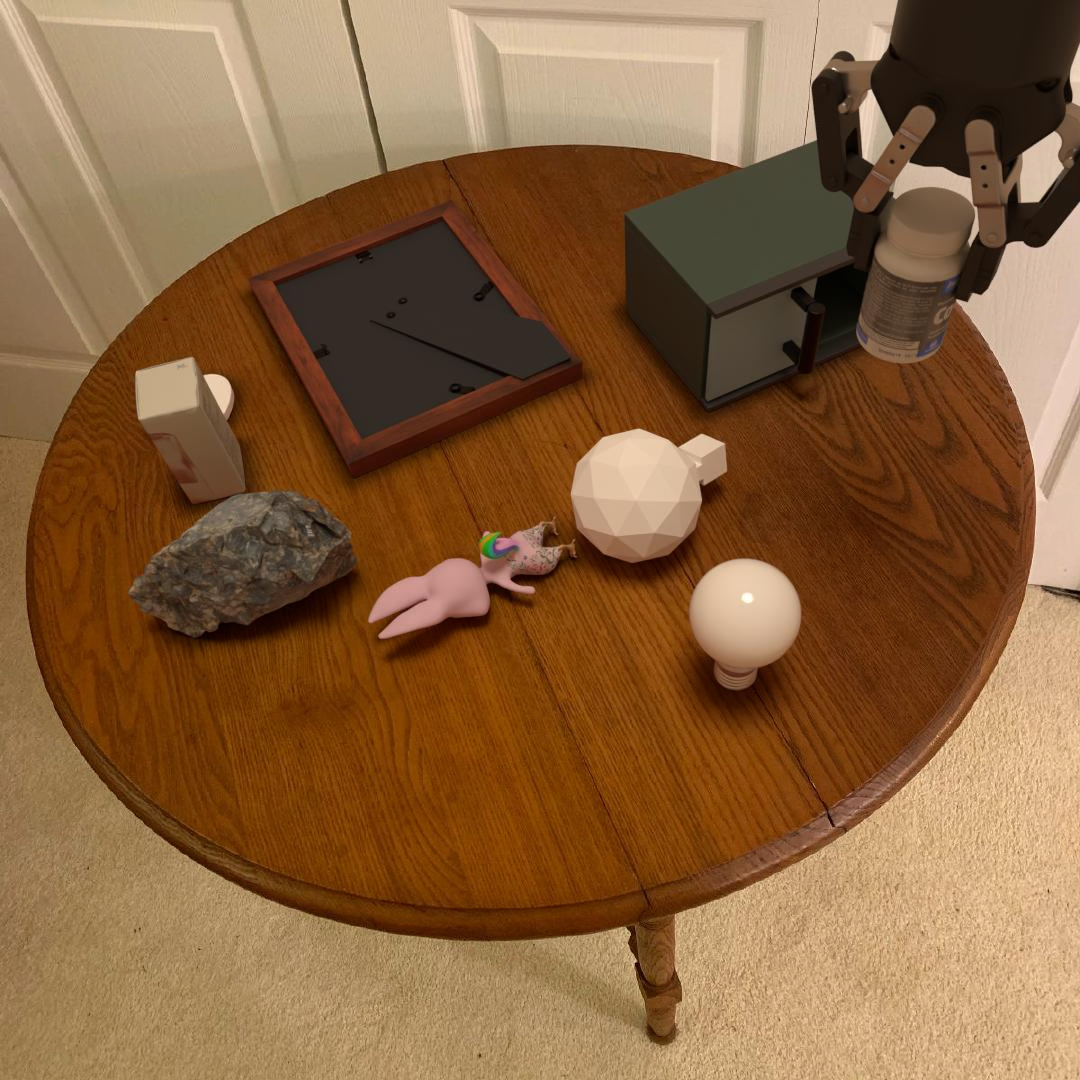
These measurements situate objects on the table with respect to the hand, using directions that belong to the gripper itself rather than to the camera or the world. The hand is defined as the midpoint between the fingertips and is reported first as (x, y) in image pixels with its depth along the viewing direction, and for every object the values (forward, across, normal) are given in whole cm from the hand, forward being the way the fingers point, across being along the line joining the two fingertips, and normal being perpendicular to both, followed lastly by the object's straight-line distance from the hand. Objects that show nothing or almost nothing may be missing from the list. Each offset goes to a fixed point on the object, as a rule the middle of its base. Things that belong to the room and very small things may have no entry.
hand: (916, 274), depth 53 cm
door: (+21, -10, +8) cm, 24 cm away
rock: (+22, -33, -26) cm, 47 cm away
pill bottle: (+5, 0, 0) cm, 5 cm away
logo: (+22, -50, -14) cm, 57 cm away
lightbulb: (+22, -2, -15) cm, 27 cm away
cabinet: (+22, -14, +16) cm, 31 cm away
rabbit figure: (+22, -20, -18) cm, 34 cm away
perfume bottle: (+22, -12, -7) cm, 26 cm away
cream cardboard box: (+22, -44, -19) cm, 52 cm away
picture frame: (+22, -40, +1) cm, 45 cm away
